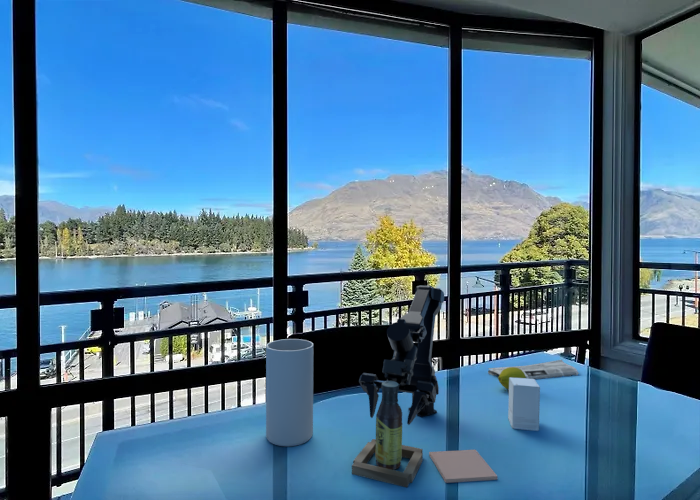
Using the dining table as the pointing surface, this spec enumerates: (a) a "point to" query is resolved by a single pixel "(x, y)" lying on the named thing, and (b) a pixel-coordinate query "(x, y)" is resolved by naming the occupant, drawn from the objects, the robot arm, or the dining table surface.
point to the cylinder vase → (289, 392)
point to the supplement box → (524, 403)
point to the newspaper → (542, 370)
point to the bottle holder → (386, 474)
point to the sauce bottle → (389, 428)
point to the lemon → (510, 375)
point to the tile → (462, 466)
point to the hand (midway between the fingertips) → (389, 420)
